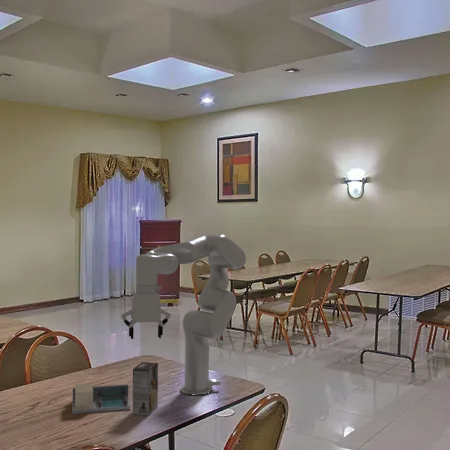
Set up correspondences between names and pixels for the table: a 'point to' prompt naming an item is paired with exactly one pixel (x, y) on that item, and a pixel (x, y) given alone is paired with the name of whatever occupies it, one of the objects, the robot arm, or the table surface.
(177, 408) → the table surface
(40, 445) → the table surface
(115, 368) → the table surface
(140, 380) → the coffee box
